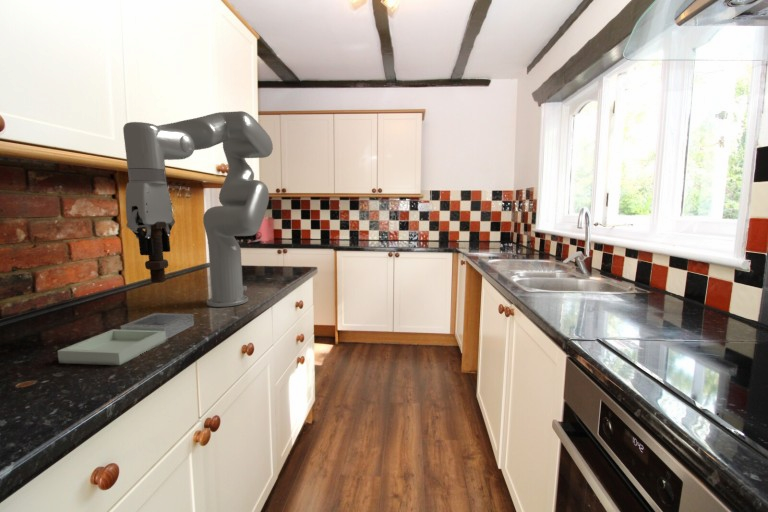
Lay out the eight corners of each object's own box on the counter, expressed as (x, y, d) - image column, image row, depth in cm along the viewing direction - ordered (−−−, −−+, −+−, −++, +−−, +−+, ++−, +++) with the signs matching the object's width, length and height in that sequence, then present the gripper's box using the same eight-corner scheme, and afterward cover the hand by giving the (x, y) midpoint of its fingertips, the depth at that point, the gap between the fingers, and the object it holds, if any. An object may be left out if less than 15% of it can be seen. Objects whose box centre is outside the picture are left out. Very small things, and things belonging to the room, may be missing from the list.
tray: (114, 339, 83) (113, 329, 83) (166, 341, 82) (165, 330, 82) (58, 362, 70) (57, 350, 70) (119, 365, 69) (118, 352, 69)
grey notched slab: (155, 323, 95) (154, 313, 95) (194, 325, 94) (193, 314, 94) (121, 338, 84) (120, 326, 84) (165, 339, 83) (164, 327, 83)
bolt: (157, 285, 85) (151, 222, 83) (139, 284, 86) (133, 222, 84) (176, 280, 91) (170, 221, 89) (159, 279, 92) (153, 221, 90)
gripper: (158, 180, 93) (165, 248, 96) (102, 175, 77) (112, 258, 80) (185, 179, 93) (191, 248, 96) (134, 175, 76) (144, 259, 79)
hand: (155, 252), depth 87 cm, fingers closed on bolt, 4 cm apart
